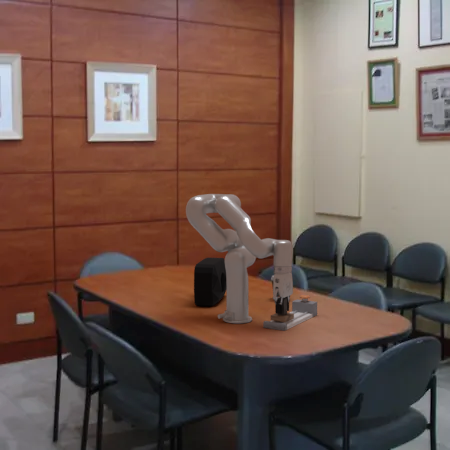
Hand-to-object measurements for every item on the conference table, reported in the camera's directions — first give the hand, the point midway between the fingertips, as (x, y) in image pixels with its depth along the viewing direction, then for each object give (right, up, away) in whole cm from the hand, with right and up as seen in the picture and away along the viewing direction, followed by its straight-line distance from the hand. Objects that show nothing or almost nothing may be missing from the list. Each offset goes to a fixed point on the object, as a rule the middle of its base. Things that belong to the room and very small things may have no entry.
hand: (282, 311), depth 301 cm
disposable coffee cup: (+3, -1, +49) cm, 49 cm away
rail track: (+4, -5, +8) cm, 10 cm away
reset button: (+12, +2, +19) cm, 22 cm away
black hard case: (-30, -1, +47) cm, 56 cm away
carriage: (0, -3, 0) cm, 3 cm away
